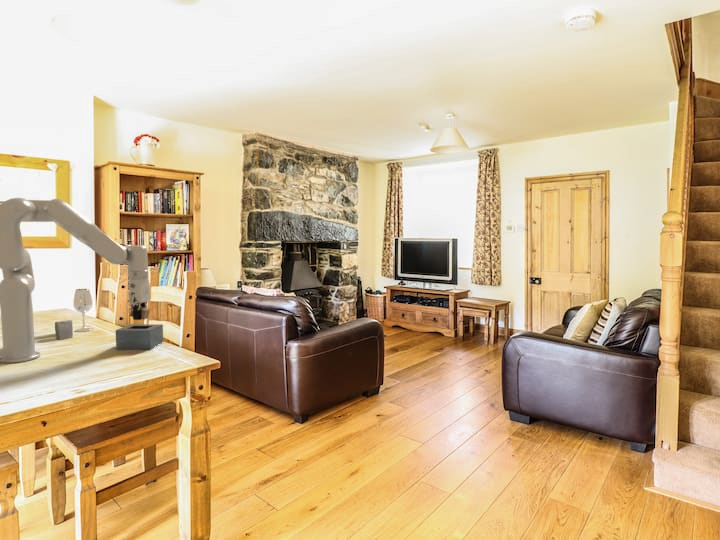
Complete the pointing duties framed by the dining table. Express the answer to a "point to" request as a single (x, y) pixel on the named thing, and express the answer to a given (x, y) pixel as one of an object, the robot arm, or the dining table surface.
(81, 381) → the dining table surface
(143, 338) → the box
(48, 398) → the dining table surface
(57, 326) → the grey block
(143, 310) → the brown block
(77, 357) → the dining table surface
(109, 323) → the dining table surface
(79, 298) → the wineglass
